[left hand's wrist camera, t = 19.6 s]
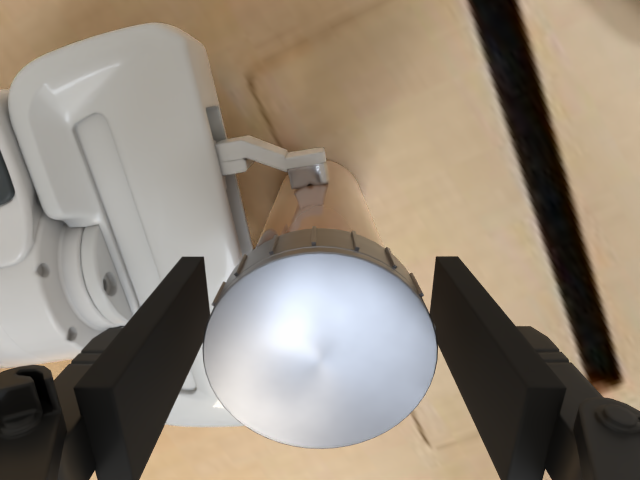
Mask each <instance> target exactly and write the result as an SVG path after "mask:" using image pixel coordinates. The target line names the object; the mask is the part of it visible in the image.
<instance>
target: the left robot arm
mask: <svg viewBox="0 0 640 480" xmlns="http://www.w3.org/2000/svg"><path fill="white" fill-rule="evenodd" d="M430 316H431V318H432V320H433V322H434V324H435V327H436V330H435V331H436V335H437V343H438V346H439V348H440V350H441V352H442V354H443V356H444V358H445V361H446V363H447V365H448V367H449V369H450V371H451V374H452V376H453V378H454V380H455V382H456V384H457V386H458V389H459V391H460V393H461V395H462V397H463V399H464V402H465V404H466V406H467V408H468V410H469V412H470V414H471V417H472V419H473V421H474V423H475V425H476V427H477V430H478V432H479V434H480V436H481V438H482V440H483V442H484V445H485V447H486V449H487V451H488V453H489V455H490V458H491V460H492V462H493V464H494V466H495V468H496V470H497V473H498V475H499V477H500V479H501V480H542V479H543V475H544V471H545V469H546V470H547V472H548V474H549V475H550V477H551V479H552V480H640V411H638V410H637V409H635V408H633V407H631V406H629V405H627V404H625V403H622V402H619V401H616V400H614V399H610V398H604V397H603V396H602V395H601V394H600V393H599V392H598V391H597V390H596V389H595V388H594V387H593V386H592V384H591V383H590V382H589V381H588V380H587V379H586V378H585V377H584V376H583V375H582V374H581V373H580V371H579V370H578V369H577V368H576V367H575V366H574V365H573V364H572V363H569V360H568V358H567V357H566V356H565V355H564V354H563V353H562V352H559V349H558V348H557V347H556V345H555V344H554V343H553V342H552V341H551V340H550V339H549V338H548V337H547V336H545V335H544V334H542V333H540V332H539V331H537V330H536V329H534V328H532V327H531V326H515V325H514V324H513V322H512V321H511V320H510V319H509V318H508V316H507V315H506V314H505V313H504V312H503V310H502V309H501V308H500V307H499V306H498V304H497V303H496V302H495V301H494V300H493V298H492V297H491V296H490V295H489V293H488V292H487V291H486V290H485V289H484V287H483V286H482V285H481V284H480V283H479V281H478V280H477V279H476V278H475V277H474V275H473V274H472V273H471V272H470V271H469V269H468V268H467V267H466V266H465V265H464V263H463V262H462V261H461V260H460V259H459V257H436V262H435V271H434V280H433V289H432V298H431V307H430ZM209 317H210V307H209V298H208V289H207V280H206V271H205V262H204V257H181V259H180V260H179V261H178V262H177V263H176V265H175V266H174V267H173V268H172V269H171V271H170V272H169V273H168V274H167V275H166V277H165V278H164V279H163V280H162V281H161V283H160V284H159V285H158V286H157V287H156V289H155V290H154V291H153V292H152V293H151V295H150V296H149V297H148V298H147V300H146V301H145V302H144V303H143V304H142V306H141V307H140V308H139V309H138V310H137V312H136V313H135V314H134V315H133V316H132V318H131V319H130V320H129V321H128V322H127V324H126V325H125V326H124V327H123V328H108V329H107V330H105V331H104V332H102V333H100V334H99V335H97V336H96V337H94V338H92V340H91V341H90V342H89V343H88V344H87V345H86V346H85V347H84V348H83V349H82V350H81V353H79V354H78V355H77V356H76V357H75V358H74V359H73V360H72V363H71V364H69V365H68V366H67V367H66V368H65V369H64V370H63V371H62V372H61V373H60V374H59V376H58V377H57V378H56V379H55V380H53V377H52V373H51V370H49V369H48V368H46V367H45V366H39V365H27V366H19V367H16V368H12V369H9V370H6V371H3V372H1V373H0V480H89V479H90V477H91V476H92V474H93V472H94V471H96V475H97V479H98V480H139V479H140V477H141V475H142V473H143V470H144V468H145V466H146V464H147V462H148V460H149V458H150V455H151V453H152V451H153V449H154V447H155V445H156V442H157V440H158V438H159V436H160V434H161V432H162V430H163V427H164V425H165V423H166V421H167V419H168V417H169V414H170V412H171V410H172V408H173V406H174V404H175V402H176V399H177V397H178V395H179V393H180V391H181V389H182V386H183V384H184V382H185V380H186V378H187V376H188V374H189V371H190V369H191V367H192V365H193V363H194V361H195V358H196V356H197V354H198V352H199V350H200V348H201V346H202V343H203V337H204V332H205V328H206V325H207V321H208V319H209Z"/></svg>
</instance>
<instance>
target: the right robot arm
mask: <svg viewBox="0 0 640 480" xmlns="http://www.w3.org/2000/svg"><path fill="white" fill-rule="evenodd" d="M254 161H256V162H258V163H261V164H264V165H267V166H270V167H273V168H276V169H278V170H281V171H284V172H287V171H288V175H289V180H290V185H291V189H298V188H303V187H306V186H308V185H309V184H313V185H322V184H326V183H328V182H329V175H328V168H327V160H326V154H325V148H312V149H306V150H300V151H294V152H288V151H287V150H286V149H284V148H281V147H279V146H276V145H273V144H271V143H268V142H266V141H263V140H260V139H258V138H255V137H253V136H250V135H247V136H241V137H236V138H230V139H227V135H226V131H225V126H224V122H223V118H222V114H221V110H220V105H219V101H218V97H217V93H216V89H215V84H214V80H213V76H212V72H211V68H210V63H209V59H208V55H207V51H206V49H205V47H204V46H203V44H202V43H201V42H199V41H198V40H196V39H195V38H194V37H192V36H191V35H189V34H188V33H186V32H185V31H183V30H181V29H179V28H177V27H175V26H172V25H169V24H165V23H156V22H155V23H145V24H140V25H134V26H130V27H126V28H122V29H118V30H114V31H110V32H106V33H103V34H99V35H96V36H93V37H90V38H87V39H84V40H80V41H77V42H75V43H72V44H69V45H66V46H64V47H61V48H59V49H56V50H54V51H51V52H48V53H46V54H44V55H42V56H40V57H38V58H36V59H34V60H33V61H31V62H29V63H28V64H27V65H26V66H24V67H23V68H22V69H21V70H20V71H19V72H18V74H17V75H16V76H15V78H14V79H13V81H12V83H11V86H10V89H0V368H13V367H19V366H27V365H36V364H43V363H50V362H57V361H63V360H71V359H74V358H75V357H76V356H77V355H78V354H79V353H81V350H82V349H83V348H84V347H85V346H86V345H87V344H88V343H89V342H90V341H91V340H92V338H94V337H96V336H97V335H99V334H100V333H102V332H104V331H105V330H107V329H108V328H123V327H124V326H125V325H126V324H127V322H128V321H129V320H130V319H131V318H132V316H133V315H134V314H135V313H136V312H137V310H138V309H139V308H140V307H141V306H142V304H143V303H144V302H145V301H146V300H147V298H148V297H149V296H150V295H151V293H152V292H153V291H154V290H155V289H156V287H157V286H158V285H159V284H160V283H161V281H162V280H163V279H164V278H165V277H166V275H167V274H168V273H169V272H170V271H171V269H172V268H173V267H174V266H175V265H176V263H177V262H178V261H179V260H180V259H181V257H204V262H205V271H206V280H207V289H208V298H209V307H210V314H211V312H212V310H213V308H214V306H212V303H213V301H214V299H215V297H216V295H217V293H218V291H219V289H220V287H221V285H222V283H223V281H224V282H226V281H227V279H228V278H229V276H230V275H231V273H232V271H233V270H234V268H235V267H236V266H237V265H238V264H239V262H240V260H241V258H242V256H243V255H244V254H246V255H248V254H249V253H250V252H251V251H252V250H254V248H253V244H252V240H251V236H250V232H249V227H248V223H247V219H246V215H245V210H244V206H243V202H242V198H241V194H240V189H239V185H238V181H237V177H236V173H241V172H246V171H247V170H248V169H249V167H250V166H251V165H252V164H253V163H254ZM202 347H203V343H202V346H201V348H200V350H199V352H198V354H197V356H196V358H195V361H194V363H193V365H192V367H191V369H190V371H189V374H188V376H187V378H186V380H185V382H184V384H183V386H182V389H181V391H180V393H179V395H178V397H177V399H176V402H175V404H174V406H173V408H172V410H171V412H170V414H169V417H168V419H167V421H166V423H165V425H173V426H183V427H234V426H244V425H243V424H242V423H240V422H239V421H238V420H237V419H235V418H234V417H233V416H232V415H231V414H230V413H229V412H228V411H227V410H226V409H225V408H224V406H223V405H222V404H221V402H220V401H219V400H218V398H217V397H216V395H215V393H214V391H213V390H212V388H211V386H210V383H209V381H208V378H207V375H206V372H205V367H204V362H203V349H202Z"/></svg>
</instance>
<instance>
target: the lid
mask: <svg viewBox="0 0 640 480" xmlns="http://www.w3.org/2000/svg"><path fill="white" fill-rule="evenodd" d="M422 296H424V295H423V293H422V291H421V289H420V287H419V285H418V283H417V281H416V279H415V277H414V275H413V273H410V274H409V273H408V271H407V270H406V268H405V267H404V266H403V265H402V263H401V262H400V261H399V260H398V259H397V258H396V257H395V256H394V255H393V254H392V253H391V251H390V249H389V248H388V247H386V248H384V247H382V246H380V245H379V244H377V243H376V242H374V241H372V240H370V239H368V238H365V237H363V236H361V235H357V234H356V231H352V232H348V231H342V230H337V229H325V228H316V226H312V229H303V230H298V231H293V232H289V233H286V234H283V235H280V236H278V235H277V234H276V235H274V237H273V239H271V240H269V241H266V242H264V243H263V244H261V245H260V246H258V247H257V248H255V249H254V250H252V251H251V252H250V253H249V254H248V255H246V254H244V255H243V256H242V258H241V260H240V262H239V264H238V265H237V266H236V267H235V268H234V270H233V271H232V273H231V275H230V276H229V278H228V279H227V281H226V282H224V281H223V283H222V285H221V287H220V289H219V291H218V293H217V295H216V297H215V299H214V301H213V303H212V306H214V308H213V310H212V312H211V314H210V317H209V319H208V321H207V325H206V328H205V332H204V337H203V347H202V349H203V362H204V367H205V372H206V375H207V378H208V381H209V383H210V386H211V388H212V390H213V391H214V393H215V395H216V397H217V398H218V400H219V401H220V402H221V404H222V405H223V406H224V408H225V409H226V410H227V411H228V412H229V413H230V414H231V415H232V416H233V417H234V418H235V419H237V420H238V421H239V422H240V423H242V424H243V425H244V426H246V427H247V428H249V429H251V430H252V431H254V432H255V433H257V434H259V435H262V436H264V437H266V438H268V439H271V440H273V441H276V442H279V443H282V444H287V445H291V446H295V447H302V448H315V449H326V448H338V447H345V446H350V445H354V444H358V443H361V442H364V441H367V440H370V439H372V438H375V437H377V436H379V435H381V434H383V433H385V432H387V431H388V430H390V429H391V428H393V427H394V426H396V425H397V424H399V423H400V422H401V421H402V420H404V419H405V418H406V417H407V416H408V415H409V414H410V413H411V412H412V411H413V410H414V409H415V408H416V407H417V406H418V404H419V403H420V401H421V400H422V399H423V397H424V396H425V394H426V392H427V390H428V388H429V386H430V384H431V382H432V379H433V376H434V373H435V369H436V364H437V355H438V343H437V335H436V331H435V330H436V327H435V324H434V322H433V320H432V318H431V316H430V314H429V312H428V309H427V307H426V305H425V303H424V301H423V299H422Z"/></svg>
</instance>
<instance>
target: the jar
mask: <svg viewBox="0 0 640 480" xmlns="http://www.w3.org/2000/svg"><path fill="white" fill-rule="evenodd" d="M327 168H328V175H329V182H328V183H326V184H322V185H313V184H309V185H308V186H306V187H303V188H298V189H291V185H290V180H289V175H287V176H286V177H285V179H284V180H283V182H282V184H281V187H280V189H279V192H278V194H277V197H276V199H275V202H274V204H273V206H272V209H271V211H270V214H269V216H268V219H267V221H266V224H265V226H264V228H263V231H262V233H261V236H260V238H259V241H258V243H257V246H256V248H257V247H258V246H260V245H261V244H263V243H264V242H266V241H269V240H271V239H273V237H274V235H276V234H277V235H278V236H280V235H283V234H286V233H289V232H293V231H298V230H303V229H312V226H316V228H325V229H337V230H342V231H348V232H352V231H356V234H357V235H361V236H363V237H365V238H368V239H370V240H372V241H374V242H376V243H377V244H379V245H380V246H382V247H384V245H383V243H382V241H381V238H380V236H379V233H378V231H377V228H376V226H375V223H374V221H373V219H372V216H371V214H370V211H369V209H368V206H367V204H366V201H365V199H364V197H363V194H362V192H361V189H360V187H359V184H358V182H357V180H356V179H355V177H354V176H353V175H352V173H351V172H350V171H349V170H348V169H346V168H345V167H344V166H342V165H340V164H338V163H336V162H333V161H330V160H327Z"/></svg>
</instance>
